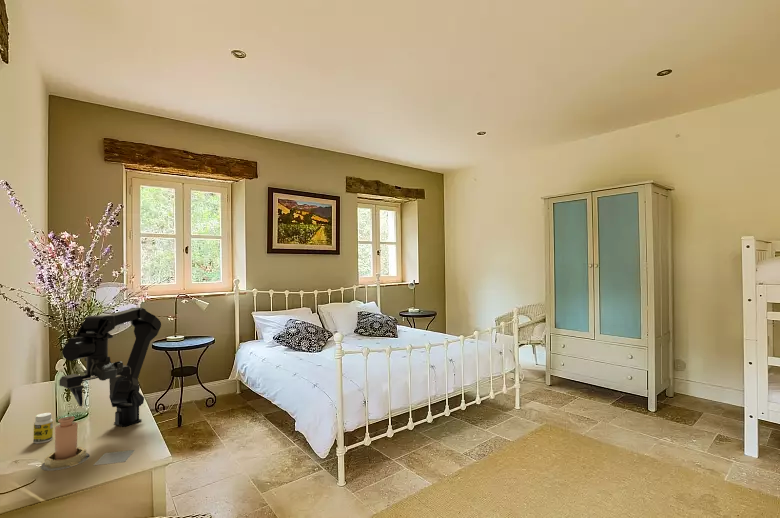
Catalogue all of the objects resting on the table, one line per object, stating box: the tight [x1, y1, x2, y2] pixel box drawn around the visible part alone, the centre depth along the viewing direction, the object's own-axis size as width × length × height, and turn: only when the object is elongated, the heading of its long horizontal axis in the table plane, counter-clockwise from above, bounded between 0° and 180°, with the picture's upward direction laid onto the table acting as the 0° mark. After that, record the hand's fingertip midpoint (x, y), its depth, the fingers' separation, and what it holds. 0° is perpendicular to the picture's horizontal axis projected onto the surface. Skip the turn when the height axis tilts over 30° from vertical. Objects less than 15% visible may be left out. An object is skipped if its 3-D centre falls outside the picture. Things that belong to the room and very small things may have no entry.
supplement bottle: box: [32, 412, 54, 445], centre depth 133 cm, size 5×5×8 cm
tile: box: [92, 449, 136, 466], centre depth 120 cm, size 8×8×1 cm
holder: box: [40, 446, 91, 472], centre depth 118 cm, size 11×11×3 cm
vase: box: [54, 415, 78, 460], centre depth 118 cm, size 5×5×12 cm
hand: (96, 402), depth 135 cm, fingers open, 9 cm apart
